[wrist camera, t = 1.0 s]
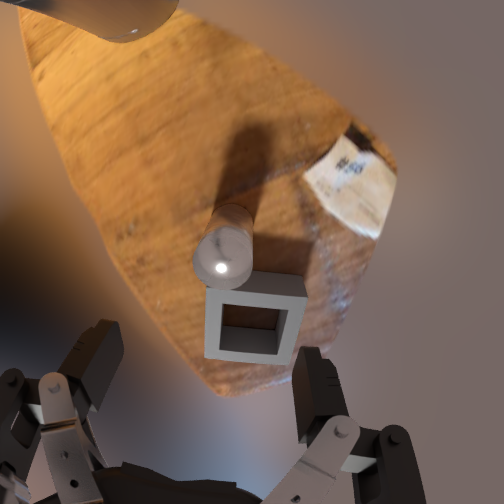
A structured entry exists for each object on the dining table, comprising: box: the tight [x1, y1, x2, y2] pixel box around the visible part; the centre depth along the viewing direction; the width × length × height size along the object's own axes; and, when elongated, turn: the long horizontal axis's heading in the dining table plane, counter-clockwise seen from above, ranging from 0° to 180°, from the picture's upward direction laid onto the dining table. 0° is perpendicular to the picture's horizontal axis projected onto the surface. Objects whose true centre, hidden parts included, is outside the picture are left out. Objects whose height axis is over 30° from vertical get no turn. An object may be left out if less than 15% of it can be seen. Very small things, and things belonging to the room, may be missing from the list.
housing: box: [204, 270, 308, 365], centre depth 28 cm, size 9×9×4 cm
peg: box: [193, 204, 253, 290], centre depth 22 cm, size 4×4×8 cm
